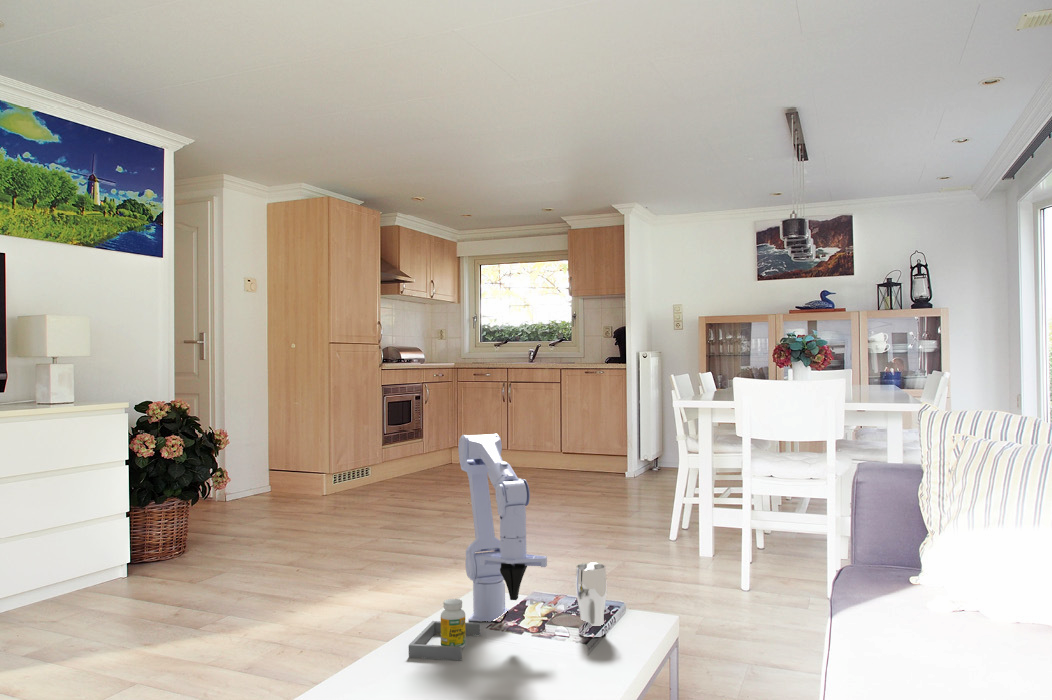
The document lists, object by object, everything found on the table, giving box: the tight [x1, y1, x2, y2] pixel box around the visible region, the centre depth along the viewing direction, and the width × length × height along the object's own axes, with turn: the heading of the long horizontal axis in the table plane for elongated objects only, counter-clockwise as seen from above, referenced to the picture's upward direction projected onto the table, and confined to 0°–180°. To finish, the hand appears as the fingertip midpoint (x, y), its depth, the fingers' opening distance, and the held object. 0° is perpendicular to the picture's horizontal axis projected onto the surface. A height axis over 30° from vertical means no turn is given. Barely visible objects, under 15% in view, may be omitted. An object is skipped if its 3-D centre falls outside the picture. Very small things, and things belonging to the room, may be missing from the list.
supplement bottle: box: [440, 598, 467, 649], centre depth 160 cm, size 5×5×10 cm
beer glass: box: [575, 562, 608, 626], centre depth 167 cm, size 7×7×15 cm
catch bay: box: [408, 620, 481, 661], centre depth 161 cm, size 16×11×2 cm
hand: (514, 598), depth 162 cm, fingers closed
